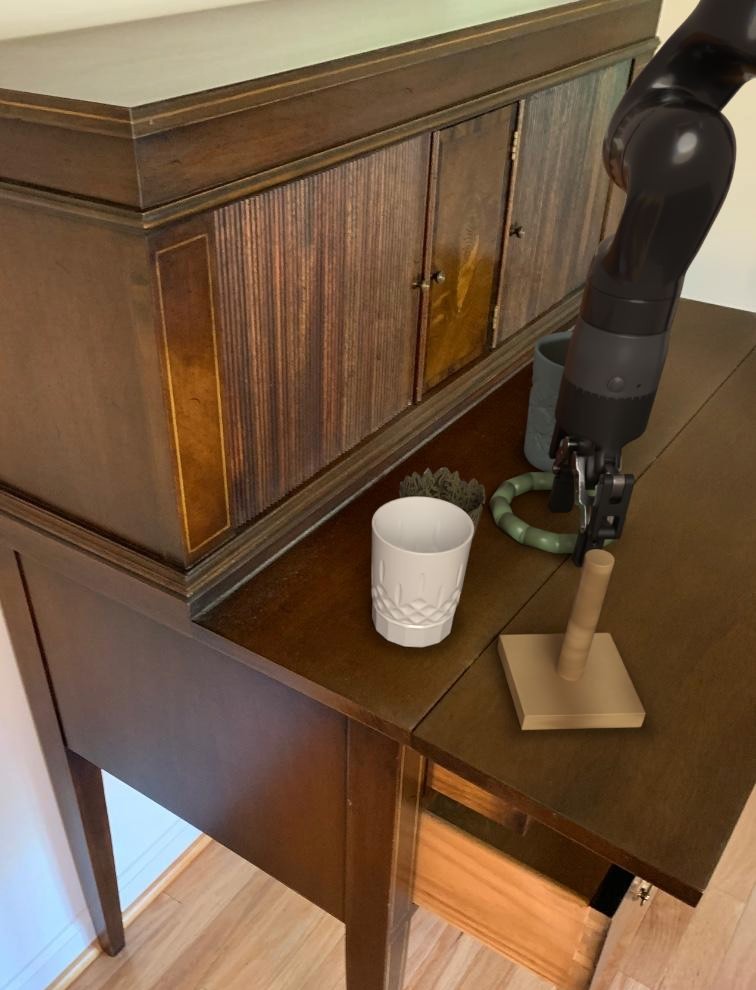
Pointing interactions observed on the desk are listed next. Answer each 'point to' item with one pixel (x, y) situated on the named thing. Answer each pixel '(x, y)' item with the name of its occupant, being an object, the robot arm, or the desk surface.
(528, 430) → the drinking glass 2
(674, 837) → the desk surface
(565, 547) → the ring
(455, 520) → the white cup
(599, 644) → the post
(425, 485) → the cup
